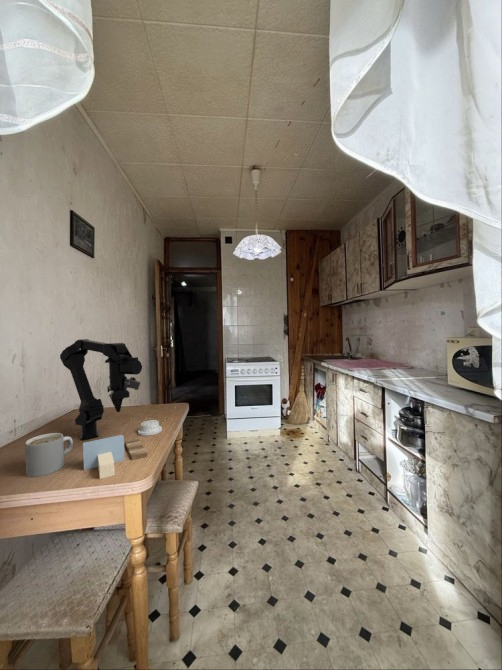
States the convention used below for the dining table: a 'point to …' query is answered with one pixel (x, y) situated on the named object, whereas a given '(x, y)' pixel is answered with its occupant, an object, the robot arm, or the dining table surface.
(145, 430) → the mechanical component
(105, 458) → the light blue upright panel
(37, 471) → the coffee mug
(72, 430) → the dining table surface
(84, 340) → the robot arm
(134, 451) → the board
